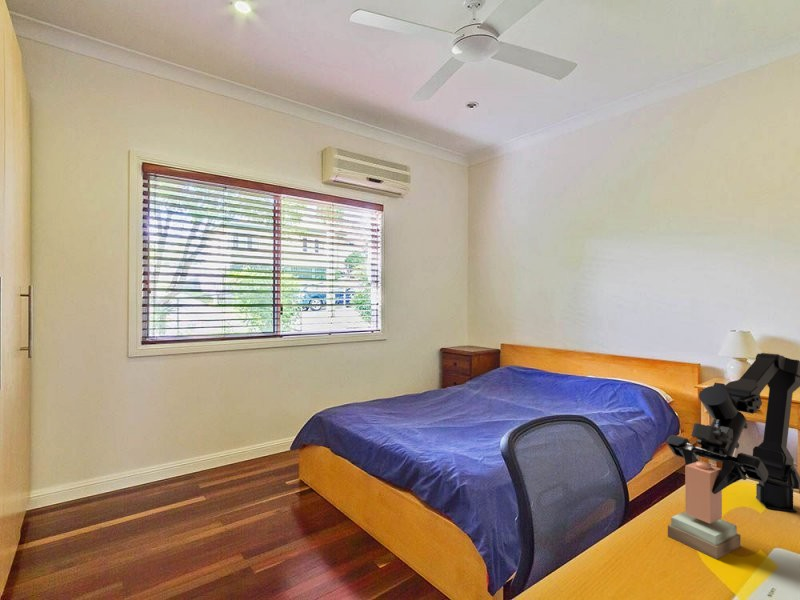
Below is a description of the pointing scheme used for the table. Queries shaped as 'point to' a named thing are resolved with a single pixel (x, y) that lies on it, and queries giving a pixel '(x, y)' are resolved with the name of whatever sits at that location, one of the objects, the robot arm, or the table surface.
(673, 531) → the base brick
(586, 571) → the table surface
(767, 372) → the robot arm
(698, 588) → the table surface
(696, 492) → the top brick
